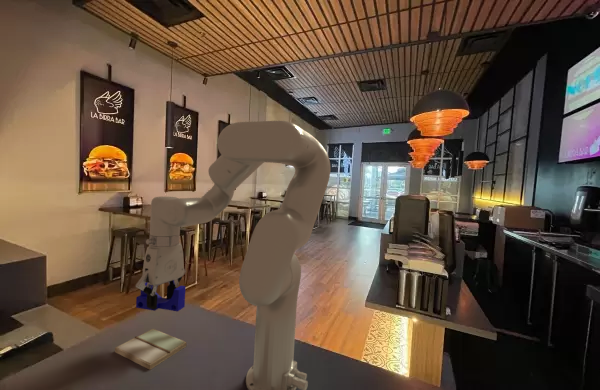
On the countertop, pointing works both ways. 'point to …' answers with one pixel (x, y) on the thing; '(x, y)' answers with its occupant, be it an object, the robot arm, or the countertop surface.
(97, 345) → the countertop surface
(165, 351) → the board
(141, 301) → the cable clip
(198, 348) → the countertop surface
